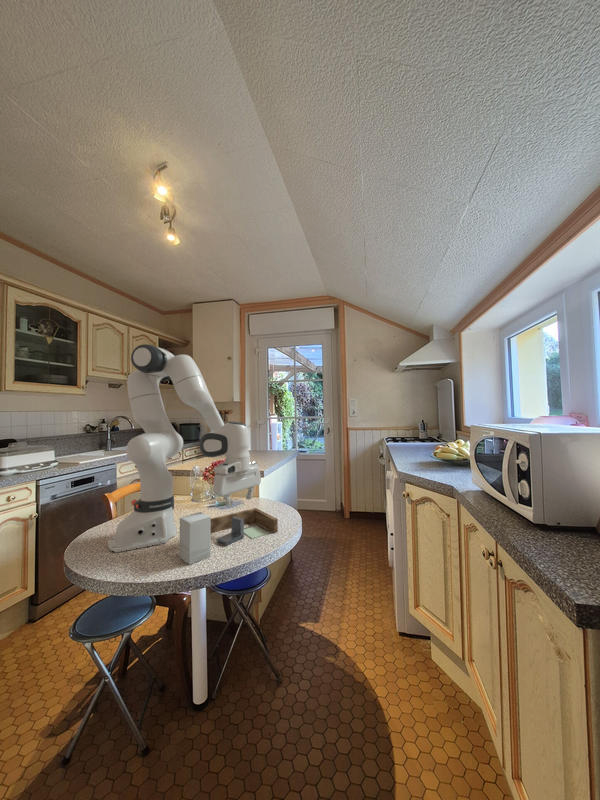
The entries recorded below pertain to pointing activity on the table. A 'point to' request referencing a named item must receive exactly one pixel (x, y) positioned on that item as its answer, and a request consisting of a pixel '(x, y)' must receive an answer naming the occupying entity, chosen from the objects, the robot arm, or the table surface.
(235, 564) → the table surface
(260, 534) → the mat
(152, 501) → the robot arm
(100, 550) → the table surface
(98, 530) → the table surface
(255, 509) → the wooden corner frame
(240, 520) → the bracket
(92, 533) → the table surface
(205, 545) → the supplement box
